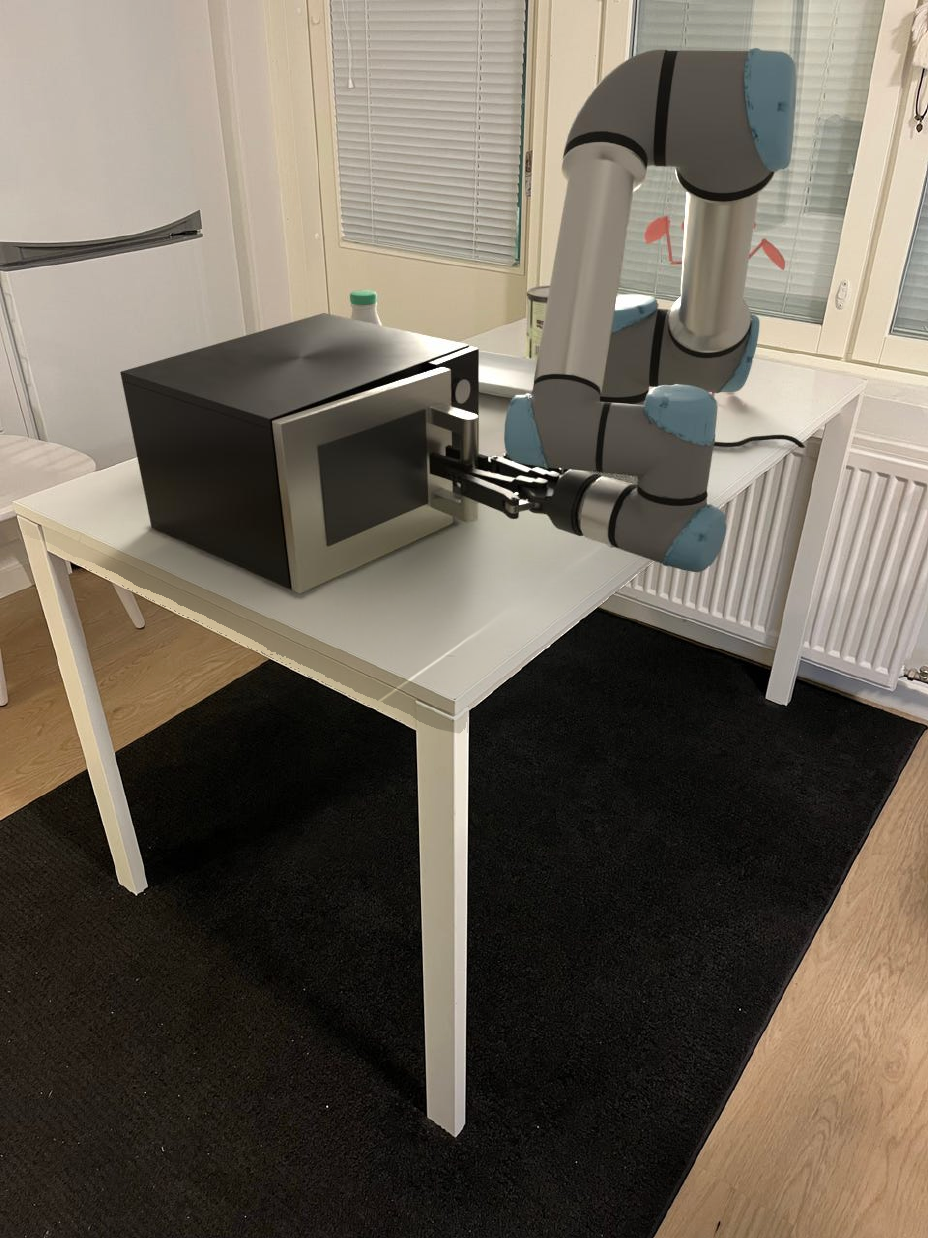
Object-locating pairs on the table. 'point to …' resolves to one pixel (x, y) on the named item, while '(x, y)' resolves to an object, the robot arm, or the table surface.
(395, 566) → the table surface
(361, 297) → the milk bottle
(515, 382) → the tray
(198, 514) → the microwave
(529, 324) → the coffee can
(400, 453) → the microwave door
